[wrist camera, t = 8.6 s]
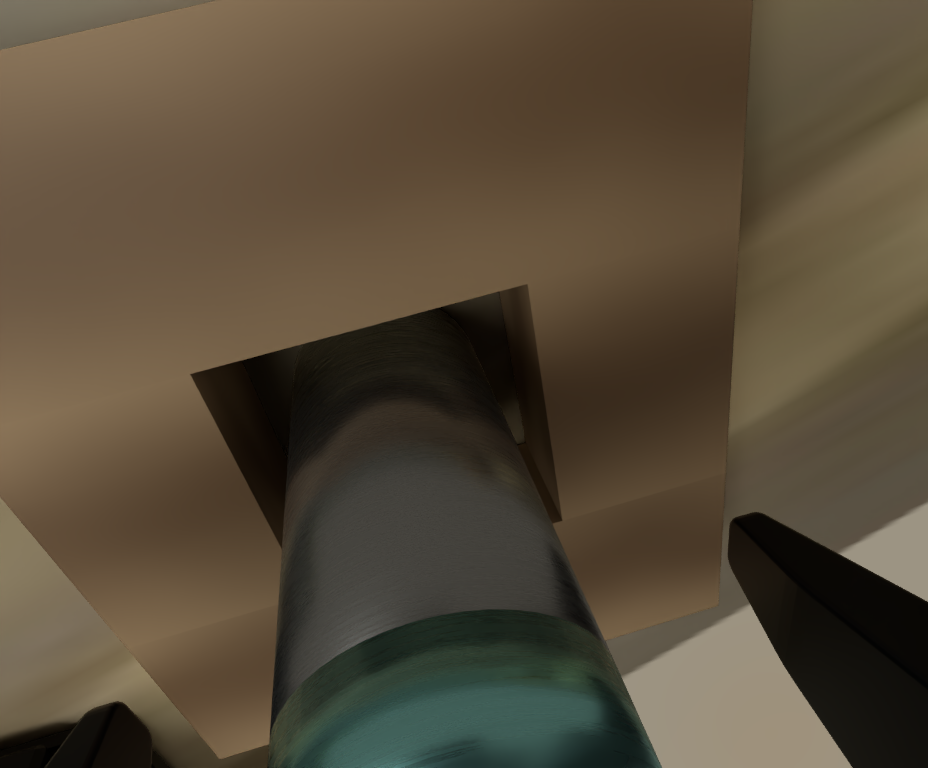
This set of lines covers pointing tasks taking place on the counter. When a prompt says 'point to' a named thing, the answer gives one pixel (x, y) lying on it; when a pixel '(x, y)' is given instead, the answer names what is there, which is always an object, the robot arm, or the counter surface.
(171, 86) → the dock
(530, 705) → the grey and teal cylinder
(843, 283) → the counter surface
